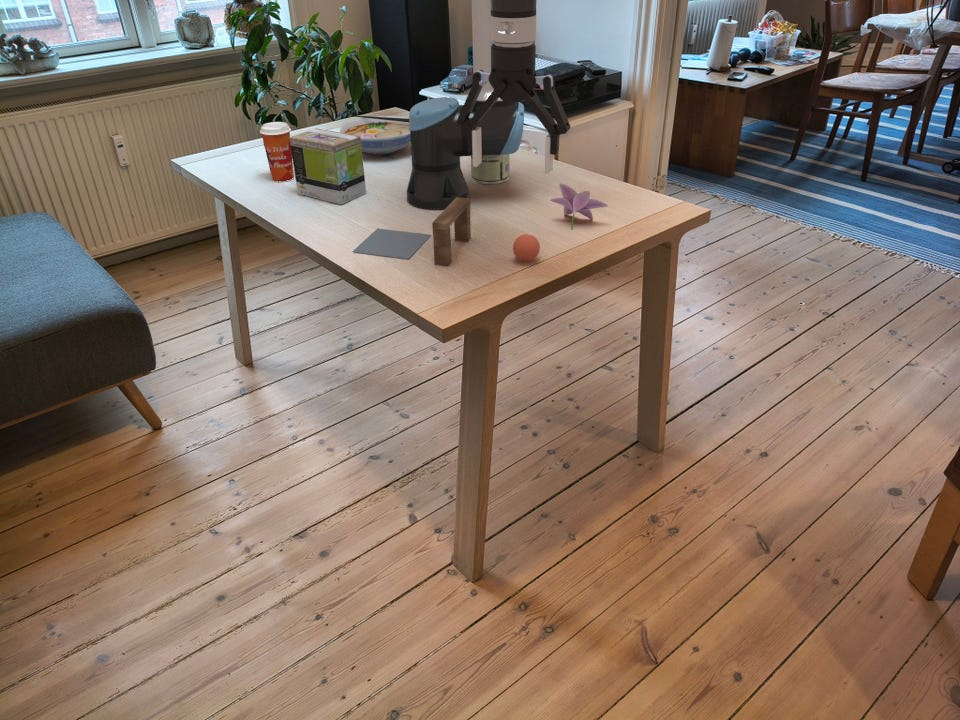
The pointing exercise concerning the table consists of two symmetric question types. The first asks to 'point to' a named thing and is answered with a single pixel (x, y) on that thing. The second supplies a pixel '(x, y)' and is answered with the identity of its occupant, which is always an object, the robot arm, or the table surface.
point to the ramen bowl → (379, 133)
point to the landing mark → (392, 243)
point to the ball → (526, 247)
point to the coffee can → (491, 169)
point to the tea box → (328, 165)
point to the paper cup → (278, 150)
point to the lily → (577, 202)
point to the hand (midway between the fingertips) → (512, 168)
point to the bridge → (441, 229)
